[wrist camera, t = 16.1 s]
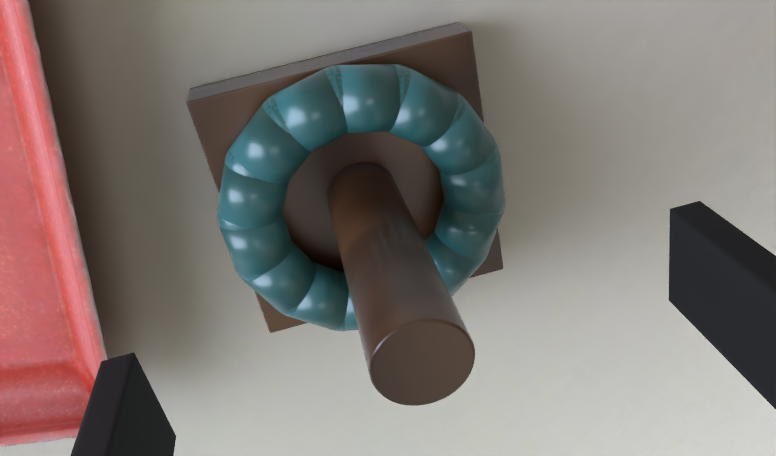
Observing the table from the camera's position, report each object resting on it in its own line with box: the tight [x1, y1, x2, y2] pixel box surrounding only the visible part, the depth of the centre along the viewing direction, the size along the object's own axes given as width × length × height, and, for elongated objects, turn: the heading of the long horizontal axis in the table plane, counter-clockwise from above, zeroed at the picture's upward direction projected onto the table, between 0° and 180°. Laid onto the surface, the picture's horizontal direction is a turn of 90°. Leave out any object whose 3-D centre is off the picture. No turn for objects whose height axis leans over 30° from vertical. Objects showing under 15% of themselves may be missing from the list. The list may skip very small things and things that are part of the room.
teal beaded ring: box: [217, 64, 505, 331], centre depth 22 cm, size 9×9×2 cm
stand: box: [187, 22, 503, 405], centre depth 19 cm, size 9×9×10 cm
